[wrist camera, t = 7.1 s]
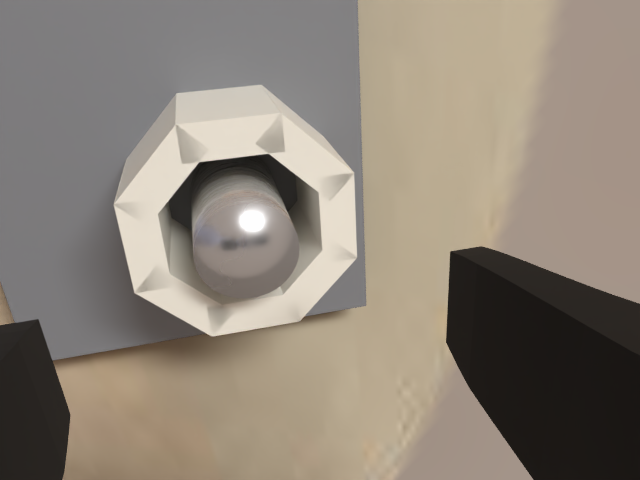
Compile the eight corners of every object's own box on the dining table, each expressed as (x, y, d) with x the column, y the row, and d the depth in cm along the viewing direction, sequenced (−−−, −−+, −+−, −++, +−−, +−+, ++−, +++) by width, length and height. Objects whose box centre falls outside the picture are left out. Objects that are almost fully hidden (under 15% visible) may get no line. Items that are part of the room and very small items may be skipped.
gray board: (356, 288, 21) (366, 305, 20) (38, 342, 19) (29, 364, 18) (326, -528, 12) (340, -575, 11) (-274, -575, 10) (-328, -638, 9)
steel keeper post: (242, 236, 18) (260, 314, 14) (174, 197, 17) (172, 268, 13) (287, 174, 17) (320, 236, 13) (219, 129, 16) (232, 183, 12)
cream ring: (329, 254, 19) (359, 311, 16) (153, 281, 18) (147, 348, 15) (319, 78, 16) (351, 104, 13) (113, 99, 15) (96, 132, 12)
